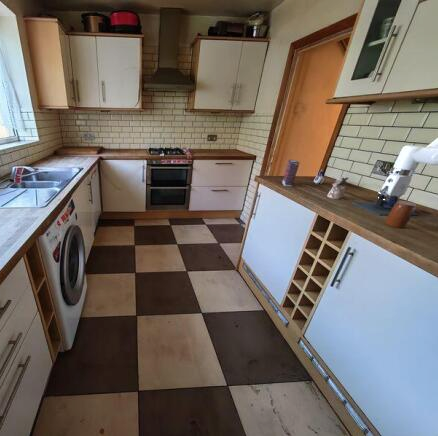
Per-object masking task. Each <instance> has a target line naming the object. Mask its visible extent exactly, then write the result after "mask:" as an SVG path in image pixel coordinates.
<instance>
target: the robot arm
mask: <svg viewBox="0 0 438 436" xmlns="http://www.w3.org/2000/svg"><path fill="white" fill-rule="evenodd" d="M419 164H425V165H430V166H438V137H437V138H435V139H434V140H433V141H432V142H430V143H429V144H428V145H427V146H423V145H413V144H407V145H405V146H403V147H402V148H401V150H400V152H399V154H398V156H397V158H396V160H395V161H394V164H393V166H392V168H391V170H390V173H389V175H388V177H387V178H386V179H385V181H384V183H383V184H382V186H381V189H380V190H379V191H378V192H377V200H376V202H377V203H376V205H375V206H376V207H379V208H383V207H384V205H385V203H386V201H385V200H386V199H387V198H388V199H392V200H395V201H400V198H401V197H402V196H404V195H405V194H406V193H407V191H408V188H409V187H410V184H411V182H412V177H413V176H414V174H415V172H416V170H417V168H418V167H419ZM387 206H390V205H387ZM390 207H393V206H390Z"/></svg>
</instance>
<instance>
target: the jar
mask: <svg viewBox="0 0 438 436" xmlns="http://www.w3.org/2000/svg"><path fill="white" fill-rule="evenodd" d="M416 206H417V204H416V203H413V202H411V201H405V200H398V201H397V203H396V204H394V206H393V208H392V210H391V211H390V213H389V215H387V217H386V219H385V221H384V224H385V225H386V226H390V227H393V228H396V229H405V228H406V226H407V224H409V223H408V222H409V221H410V220H411V218H412V217H413V216H412V214H413V213H415V211H416Z"/></svg>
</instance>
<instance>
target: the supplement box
mask: <svg viewBox="0 0 438 436" xmlns="http://www.w3.org/2000/svg"><path fill="white" fill-rule="evenodd" d="M299 166H300V161H298V160H297V159H288V162H287V165H286V168H285V171H284V175H283V179H282V181H281V183H282V184H283V186H284V187H290V188H291V187H293V185H294V180H295V179H296V175H297V173H298V170H299Z"/></svg>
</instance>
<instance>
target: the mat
mask: <svg viewBox="0 0 438 436" xmlns="http://www.w3.org/2000/svg"><path fill="white" fill-rule="evenodd" d="M376 203H377V201H375V202H373V201H372V202H371V201H367V202H366V201H351V204H353V205H355V206H357V207H359V208H361V209H363V210H366V211H367V212H370V213H373V214H375V215H376V216H388V215H389V213H390V211H391V210H392V208H393V207H390V206H387V205H384V207H383V208H379V207H376V206H375V205H376ZM413 216H415V217H418V216H419V214H418V213H415V212H414V213H413V214H412V216H411V217H413Z"/></svg>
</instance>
